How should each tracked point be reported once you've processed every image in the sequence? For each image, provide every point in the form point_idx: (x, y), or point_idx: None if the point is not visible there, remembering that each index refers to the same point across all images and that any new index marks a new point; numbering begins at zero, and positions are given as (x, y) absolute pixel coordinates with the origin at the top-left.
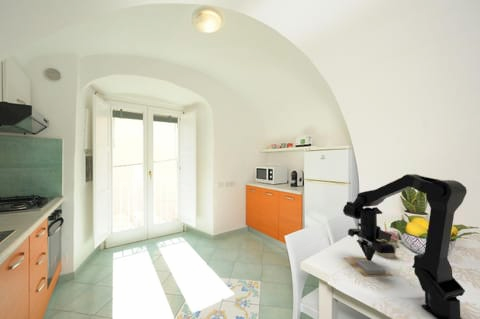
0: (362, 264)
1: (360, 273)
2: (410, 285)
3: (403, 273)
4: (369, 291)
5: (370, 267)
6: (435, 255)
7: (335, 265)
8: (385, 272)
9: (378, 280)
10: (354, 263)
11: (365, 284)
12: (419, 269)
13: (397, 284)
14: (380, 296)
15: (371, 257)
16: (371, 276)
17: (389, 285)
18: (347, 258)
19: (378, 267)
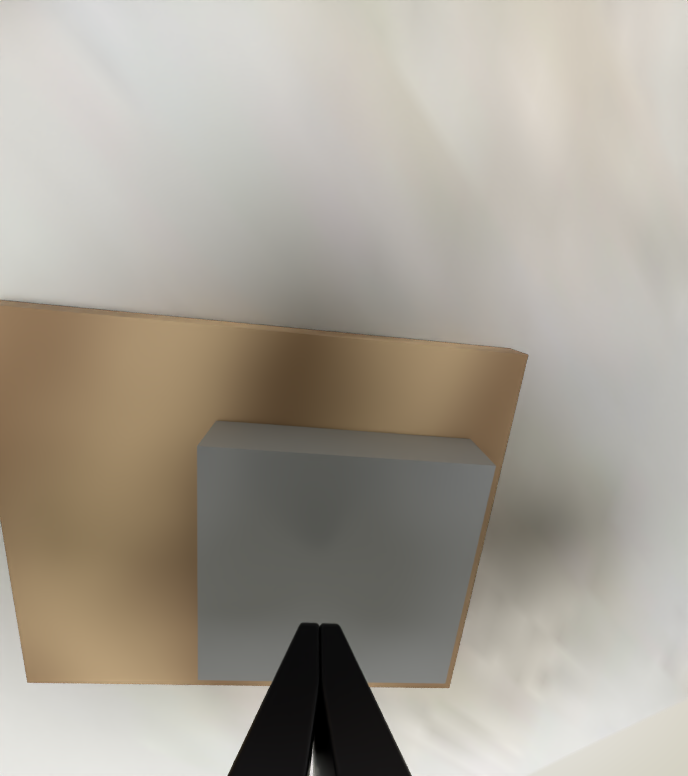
0: None
1: (392, 685)
2: (663, 277)
3: (447, 52)
4: (581, 718)
5: (395, 616)
6: None
7: (177, 762)
8: (437, 400)
9: (489, 550)
10: (182, 625)
11: (504, 694)
12: None
13: (598, 415)
14: (650, 686)
15: (367, 708)
16: (464, 621)
17: (581, 511)
18: (37, 628)
19: (415, 508)
